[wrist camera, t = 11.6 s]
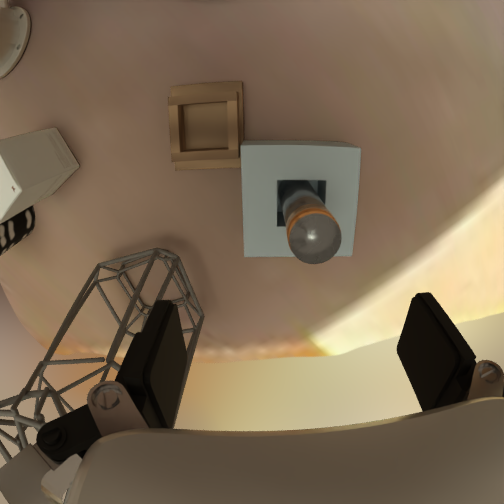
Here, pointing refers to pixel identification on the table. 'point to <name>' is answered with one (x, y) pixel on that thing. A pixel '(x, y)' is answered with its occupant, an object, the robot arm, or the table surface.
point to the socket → (296, 168)
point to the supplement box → (32, 169)
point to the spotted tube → (16, 229)
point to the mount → (206, 125)
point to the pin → (308, 222)
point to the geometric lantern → (25, 394)
